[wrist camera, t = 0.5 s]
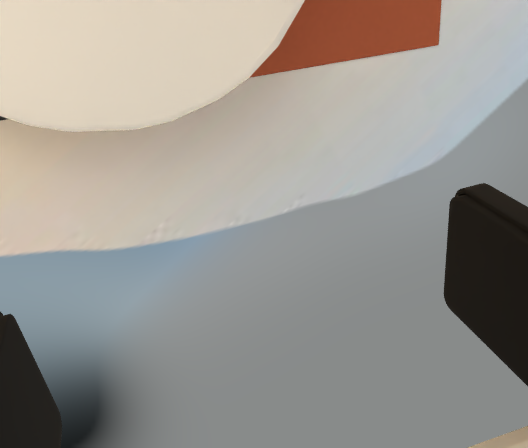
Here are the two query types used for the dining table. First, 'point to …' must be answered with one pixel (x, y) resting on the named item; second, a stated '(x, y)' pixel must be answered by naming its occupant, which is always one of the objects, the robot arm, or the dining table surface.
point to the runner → (352, 32)
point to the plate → (129, 58)
